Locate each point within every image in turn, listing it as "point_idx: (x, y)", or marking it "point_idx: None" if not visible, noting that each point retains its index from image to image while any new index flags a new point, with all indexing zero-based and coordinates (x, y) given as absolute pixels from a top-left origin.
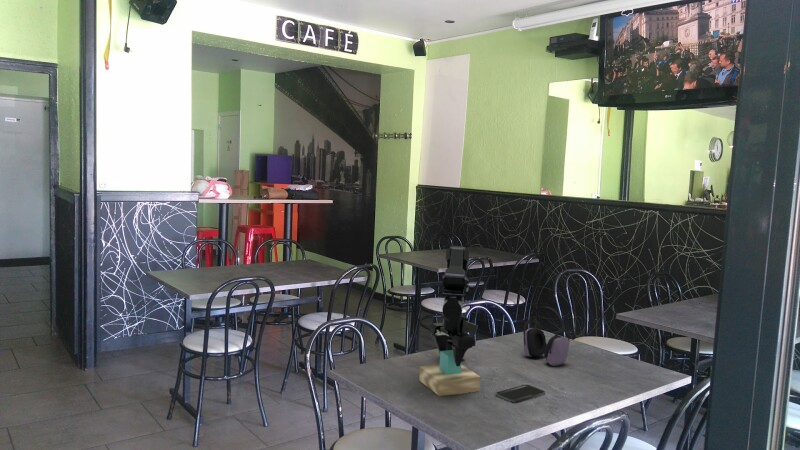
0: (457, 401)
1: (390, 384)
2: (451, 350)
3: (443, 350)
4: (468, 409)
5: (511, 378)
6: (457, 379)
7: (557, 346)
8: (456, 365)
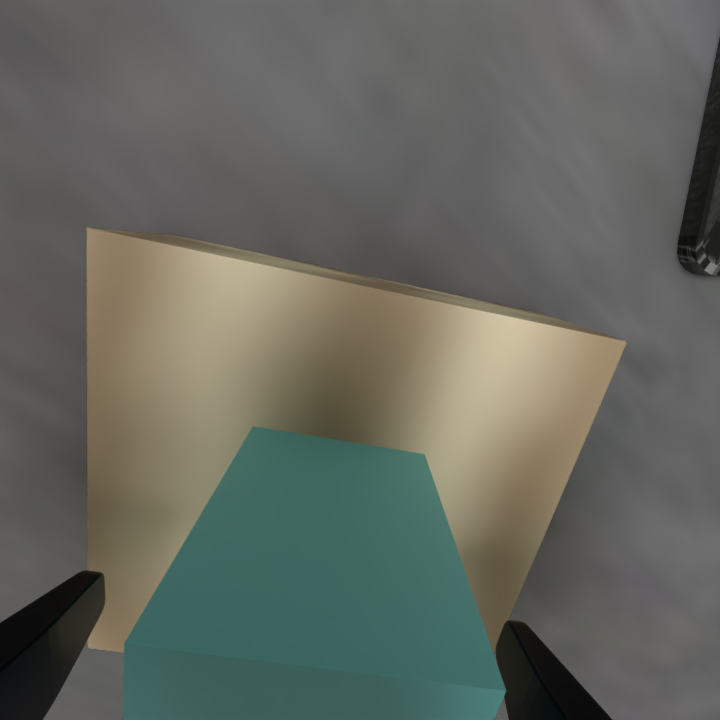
0: (569, 555)
1: None
2: (153, 714)
3: (9, 712)
4: (688, 573)
5: None
6: (526, 576)
7: None
8: (507, 665)
